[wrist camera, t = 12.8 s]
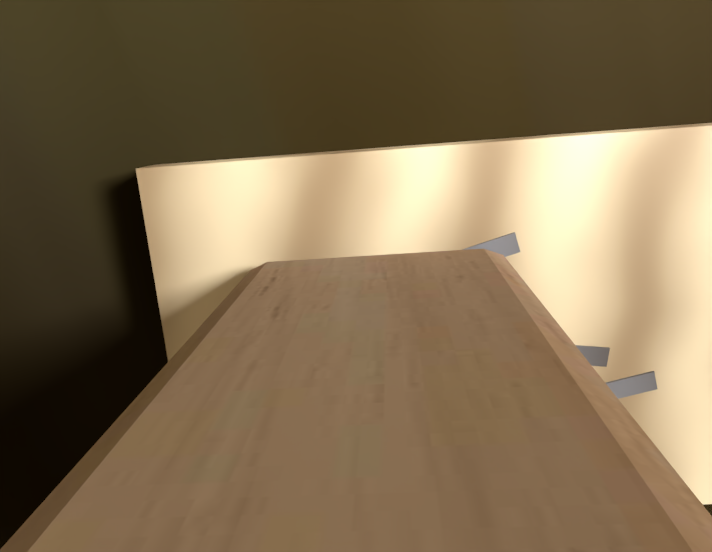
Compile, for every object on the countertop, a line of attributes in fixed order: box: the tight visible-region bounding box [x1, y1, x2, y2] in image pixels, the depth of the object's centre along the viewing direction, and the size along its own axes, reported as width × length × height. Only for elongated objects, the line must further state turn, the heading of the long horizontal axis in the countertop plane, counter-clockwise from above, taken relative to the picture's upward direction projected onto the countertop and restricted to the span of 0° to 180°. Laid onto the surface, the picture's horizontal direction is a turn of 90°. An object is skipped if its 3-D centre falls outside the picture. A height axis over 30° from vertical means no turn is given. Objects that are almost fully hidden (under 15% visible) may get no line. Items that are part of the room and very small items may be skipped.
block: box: [0, 249, 712, 552], centre depth 14 cm, size 10×10×20 cm
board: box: [136, 123, 712, 505], centre depth 25 cm, size 26×16×2 cm, turn 94°
